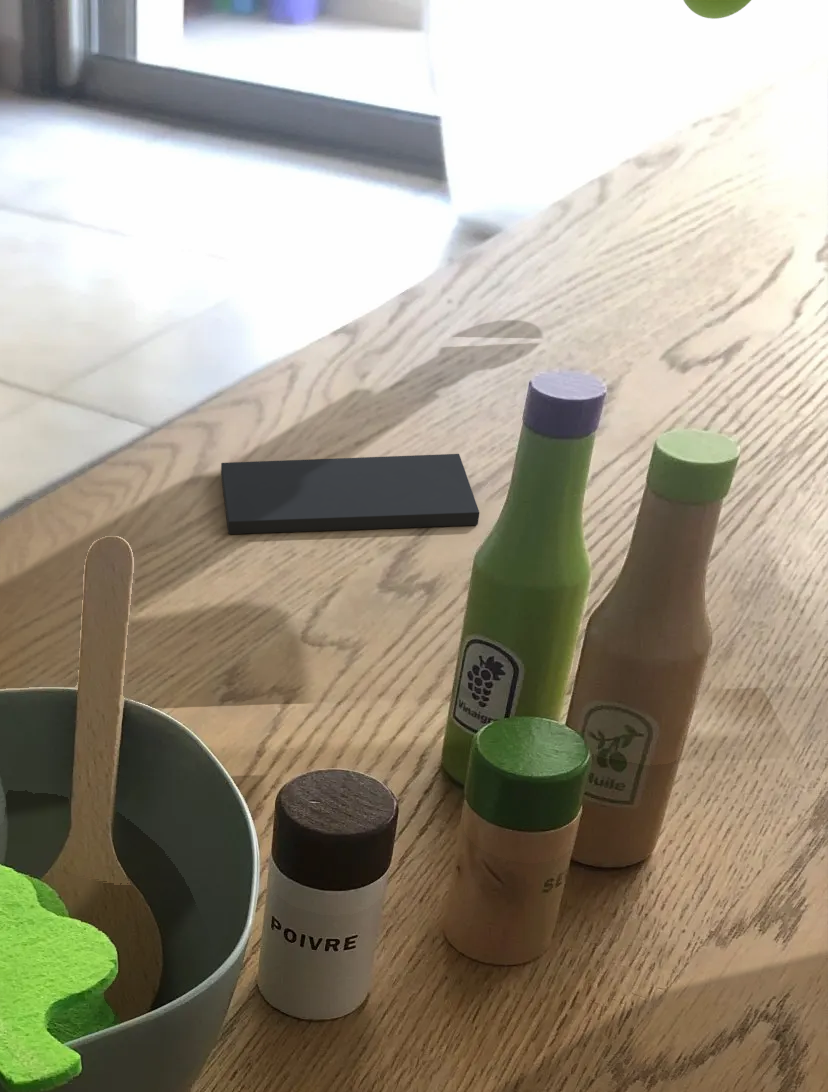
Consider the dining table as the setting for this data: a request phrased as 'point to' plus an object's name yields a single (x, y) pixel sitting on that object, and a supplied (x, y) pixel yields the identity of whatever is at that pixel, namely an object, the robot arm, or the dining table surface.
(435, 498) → the mat
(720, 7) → the snail figurine
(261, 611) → the dining table surface
